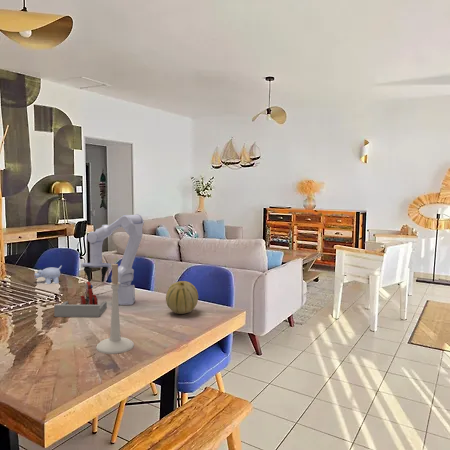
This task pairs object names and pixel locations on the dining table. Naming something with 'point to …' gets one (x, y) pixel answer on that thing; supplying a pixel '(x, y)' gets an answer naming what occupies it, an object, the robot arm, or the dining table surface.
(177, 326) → the dining table surface
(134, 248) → the robot arm
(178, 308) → the cantaloupe
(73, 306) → the tray
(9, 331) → the dining table surface
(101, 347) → the candlestick
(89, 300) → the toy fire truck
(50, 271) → the hippopotamus toy
